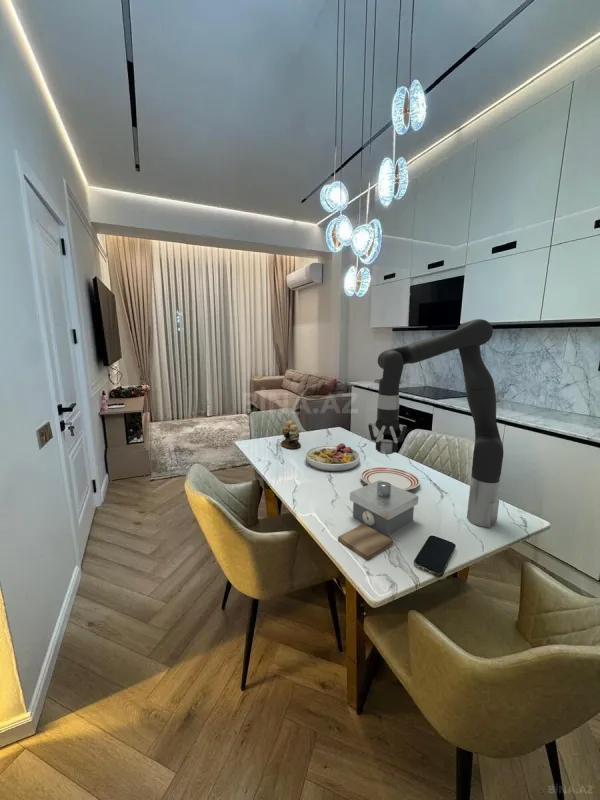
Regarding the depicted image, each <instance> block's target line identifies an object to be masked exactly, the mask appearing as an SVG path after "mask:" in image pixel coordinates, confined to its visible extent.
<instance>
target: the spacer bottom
mask: <svg viewBox="0 0 600 800" xmlns="http://www.w3.org/2000/svg"><path fill="white" fill-rule="evenodd" d="M377 495H378V496H380V497H390V495H391V484H390V483H388V482H378V484H377Z"/></svg>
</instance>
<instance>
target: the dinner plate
mask: <svg viewBox="0 0 600 800" xmlns="http://www.w3.org/2000/svg"><path fill="white" fill-rule="evenodd" d="M359 476H360V478H361V480H362V481H363V482H364V483H365V484H367V485H369V484H371V483H374V482H376V481H379V480H381V481H384V482H388V483H390V484H391V485H393V486H396V487H398V488H400V489H403V490H405V491H410V490H413V489H415V488H417V487H419V485H420V479H419V477H417V476H416V475H415V474H414V473H411V472H410V471H406V470H404V469H400V468H395V467H389V466H377V467H376V466H375V467H368V468H366V469H363V470H362V472H360V474H359Z"/></svg>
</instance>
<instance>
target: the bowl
mask: <svg viewBox="0 0 600 800" xmlns="http://www.w3.org/2000/svg"><path fill="white" fill-rule="evenodd" d="M305 459H306V461H307V463H308V464H309V465H310V466H312V467H314V468H316V469H318V470H321V471H327V472H342V471H347V470H350V469H353V468H355V467H356V466H358V464H359V463H360V460H361V455H360V453H359V452H358V451H357V450H355V449H353V448H352V447H351V446H346V444H345V443H343V442H342V443H339V444H338V445H320V446H316V447H312V448H310V449H308V450H307V451H306V452H305Z"/></svg>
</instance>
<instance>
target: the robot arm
mask: <svg viewBox="0 0 600 800" xmlns="http://www.w3.org/2000/svg"><path fill="white" fill-rule="evenodd" d="M493 332H494V328H493V325H492V324H491V323H490V321H487V320H485V319H482V318H479V319H472V320H470V321H469V320H468V321H466V322H463V323H461V324H460V325H458V327H457V329H456V330H452V331H450V332H447V333H443V334H440V335H435V336H432V337H427V338H425V339H420V340H418V341H414V342H412V343H409V344H405V345H403V346H399V347H392V348H390V349H389V348H388V349H386V350H384V351H382V352H380V354H379V355H378V357H377V364H378V367H380V368H381V369H382V370H383V371H382V377H381V378H380V379H379V381H378V382H379V383H378V396H377V397H378V398H377V405H376V407H377V410H376V412H377V413H376V421H375V422H374V423H371V422H369V423H368V424H367V425H368V430H369V431H368V432H369V436H370V439H371V441H373V442H374V441H375V450H376V451H377V453H378V452H379V451H380V440H381V438H382V437H383V435H391V436H392V439H393V440H392V441H393V442H394V445H393V453H392V454H396V452H397V451H398V444H399V443H402V442H403V441H404V439H405V435H406V433H407V428H408V426H407V425H406V424H401V423H399V414H400V413H399V412H400V382H401V379H402V375H403V371H404V365H407V364H409V365H410V364H411V365H412V364H417V363H420V362H422V361H425V360H429V359H432V358H434V357H436V356H440V355H443V354H445V353H446V354H447V353H448V352H452V351H455V350H458V352H459V355H460V359H461V367H462V372H463V379H464V386H465V392H466V393H465V394H466V395H465V396H466V401H467V404H468V407H469V411H470V414H471V416H472V419H473V423H474V434H475V435H474V444H473V445H474V446H473V452H472V453H473V454H472V462H471V463H472V464H471V474H470V484H469V485H470V486H469V495H468V503H467V512H466V519H467V520H468V522H470V523H471V524H473V525H476V526H479V527H484V528H488V529H492V527H493V526H495V525H496V524H497V522H498V514H499V506H500V499H499V498H498V497H499V488H500V480H501V475H502V467H503V460H504V453H505V452H504V451H505V450H504V445H503V441H502V439H501V436H500V432H499V427H498V422H497V394H496V388H495V382H494V379H493V377H492V375H491V372H490V371H489V370H488V368H487V367H486V364H485V363H484V361H483V358H482V357H483V356H482V354H481V353H482V352H481V346H483V345H485V344H487V343H488V342H489V341H490V340H491V338H492V337H493ZM375 428H377V430H378V432H377V435H376V436H375V433H374V430H375ZM398 429H400V430H399V431H400V434H399V436H398V437H397V435H396V432H397V430H398ZM379 453H380V452H379Z"/></svg>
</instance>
